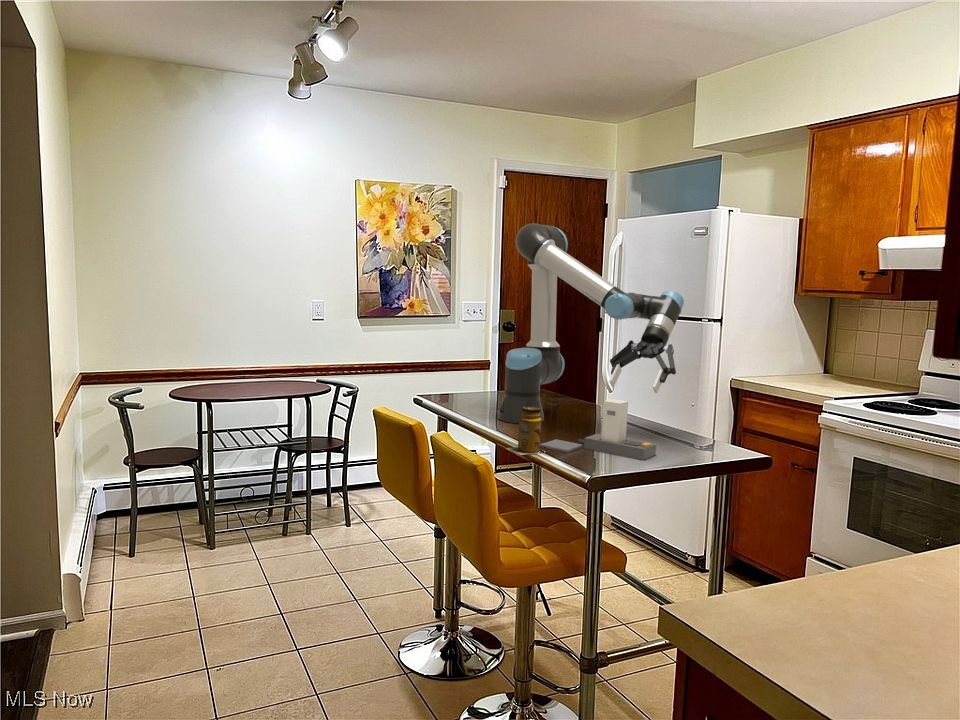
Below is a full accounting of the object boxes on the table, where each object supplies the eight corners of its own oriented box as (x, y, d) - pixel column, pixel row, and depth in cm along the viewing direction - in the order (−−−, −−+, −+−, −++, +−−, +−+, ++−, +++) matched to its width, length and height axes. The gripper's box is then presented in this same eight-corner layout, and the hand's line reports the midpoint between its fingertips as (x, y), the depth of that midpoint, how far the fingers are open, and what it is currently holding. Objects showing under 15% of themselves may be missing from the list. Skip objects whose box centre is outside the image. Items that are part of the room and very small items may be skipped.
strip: (571, 445, 204) (572, 433, 204) (584, 441, 210) (585, 429, 210) (643, 460, 191) (644, 447, 191) (655, 454, 198) (656, 442, 197)
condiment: (546, 452, 195) (548, 409, 194) (521, 455, 191) (523, 411, 189) (529, 446, 201) (532, 404, 200) (505, 449, 197) (507, 406, 195)
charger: (609, 440, 204) (611, 398, 203) (625, 443, 201) (628, 401, 200) (600, 443, 200) (603, 401, 198) (617, 446, 197) (620, 403, 196)
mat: (555, 441, 209) (555, 439, 209) (583, 446, 203) (583, 444, 203) (539, 446, 202) (539, 444, 201) (567, 452, 196) (567, 450, 196)
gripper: (700, 345, 212) (676, 400, 202) (623, 337, 227) (597, 389, 217) (694, 328, 207) (671, 384, 197) (616, 321, 222) (590, 373, 212)
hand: (632, 387), depth 207 cm, fingers open, 13 cm apart
